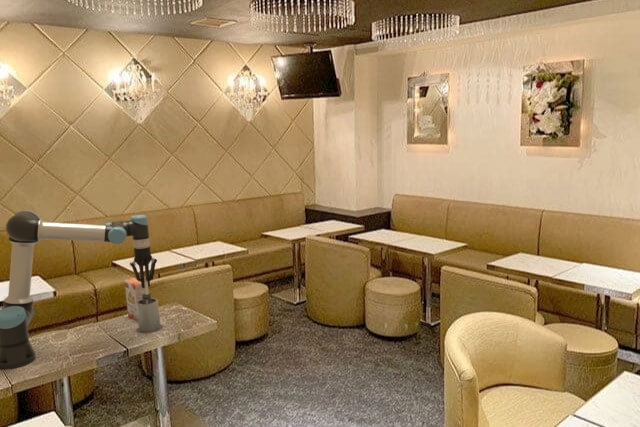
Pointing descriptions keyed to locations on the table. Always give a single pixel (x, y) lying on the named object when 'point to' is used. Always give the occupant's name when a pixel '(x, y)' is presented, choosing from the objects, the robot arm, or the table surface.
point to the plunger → (146, 297)
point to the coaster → (149, 332)
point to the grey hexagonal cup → (148, 315)
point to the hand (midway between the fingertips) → (146, 293)
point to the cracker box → (133, 296)
